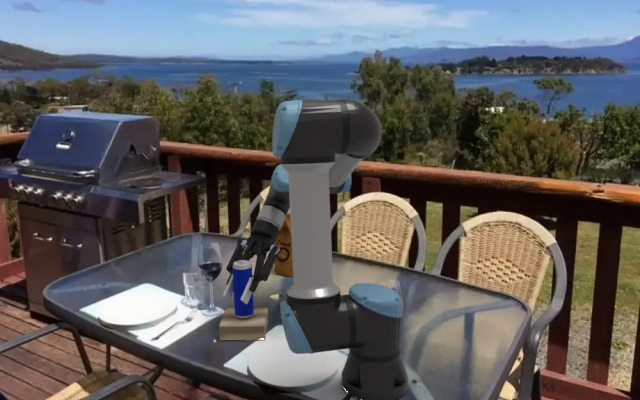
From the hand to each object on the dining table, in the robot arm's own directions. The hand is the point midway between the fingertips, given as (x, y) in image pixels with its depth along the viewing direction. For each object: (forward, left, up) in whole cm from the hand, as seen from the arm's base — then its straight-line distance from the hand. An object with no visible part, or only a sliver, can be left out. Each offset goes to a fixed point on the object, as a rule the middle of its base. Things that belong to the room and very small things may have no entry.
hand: (235, 299), depth 152 cm
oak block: (+3, -2, -10) cm, 11 cm away
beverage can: (+3, -2, -6) cm, 7 cm away
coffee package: (+49, -13, -11) cm, 52 cm away
